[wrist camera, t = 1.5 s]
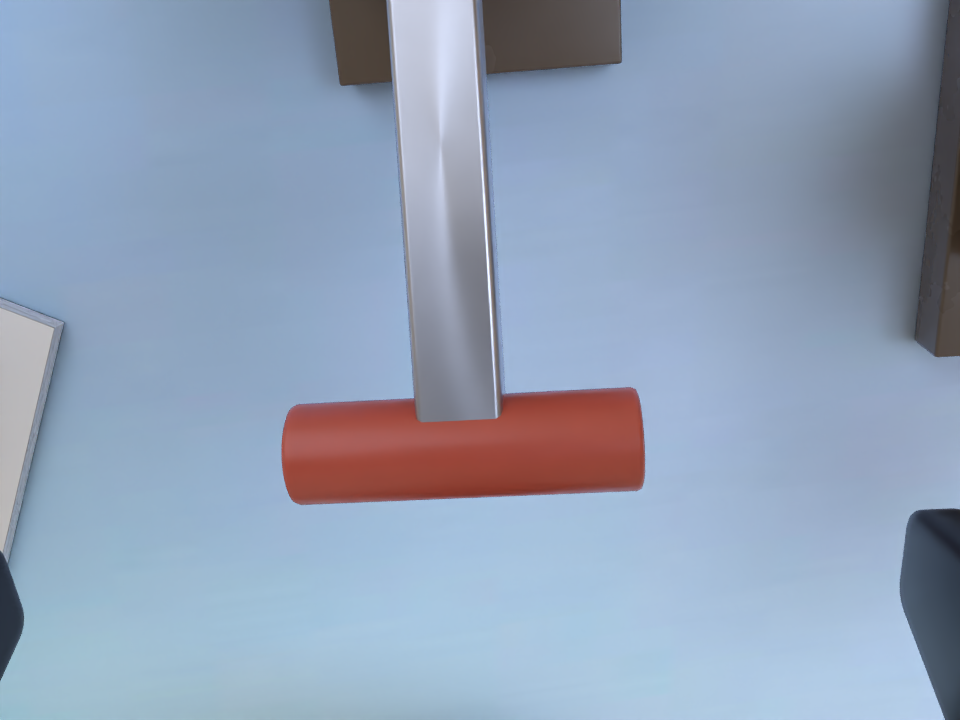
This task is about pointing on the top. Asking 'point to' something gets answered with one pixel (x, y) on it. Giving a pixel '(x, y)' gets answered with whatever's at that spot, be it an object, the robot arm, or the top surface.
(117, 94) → the top surface
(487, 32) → the brown lever stand
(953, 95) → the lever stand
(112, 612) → the top surface
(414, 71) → the handle
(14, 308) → the car cutout
